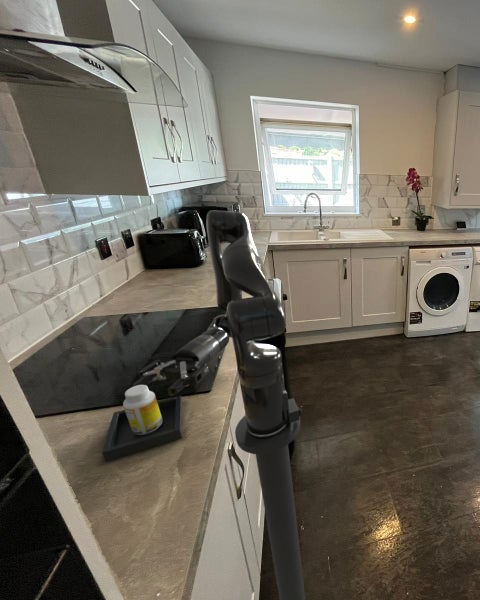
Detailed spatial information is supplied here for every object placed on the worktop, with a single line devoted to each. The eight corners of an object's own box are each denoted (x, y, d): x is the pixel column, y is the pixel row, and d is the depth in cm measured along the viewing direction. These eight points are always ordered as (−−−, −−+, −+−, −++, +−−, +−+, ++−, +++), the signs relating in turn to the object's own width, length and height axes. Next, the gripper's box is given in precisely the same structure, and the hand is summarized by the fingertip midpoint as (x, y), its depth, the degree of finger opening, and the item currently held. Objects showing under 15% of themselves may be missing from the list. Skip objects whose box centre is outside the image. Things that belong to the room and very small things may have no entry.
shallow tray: (182, 403, 81) (180, 395, 80) (182, 438, 71) (179, 429, 70) (116, 420, 75) (113, 412, 74) (105, 462, 65) (101, 452, 64)
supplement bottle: (166, 416, 76) (156, 380, 72) (158, 433, 72) (147, 396, 68) (138, 420, 75) (126, 384, 71) (128, 438, 70) (114, 401, 66)
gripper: (169, 339, 87) (117, 375, 72) (220, 343, 87) (178, 380, 72) (175, 363, 90) (126, 401, 75) (225, 367, 89) (185, 406, 74)
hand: (151, 391), depth 73 cm, fingers open, 8 cm apart
